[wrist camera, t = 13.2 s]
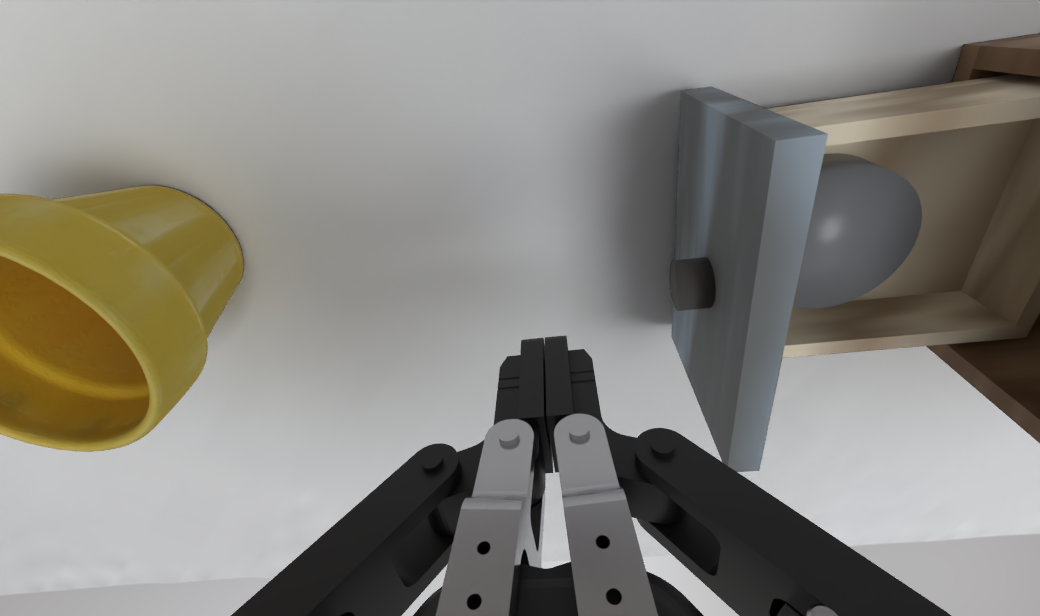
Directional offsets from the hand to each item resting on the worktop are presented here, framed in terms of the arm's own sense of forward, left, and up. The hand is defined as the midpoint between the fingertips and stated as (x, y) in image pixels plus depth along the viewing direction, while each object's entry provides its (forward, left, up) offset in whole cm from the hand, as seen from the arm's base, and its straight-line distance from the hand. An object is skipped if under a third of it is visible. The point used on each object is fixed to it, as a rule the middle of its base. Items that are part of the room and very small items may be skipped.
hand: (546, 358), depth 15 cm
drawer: (-13, 0, -9) cm, 16 cm away
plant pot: (+19, -2, -10) cm, 22 cm away
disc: (-12, 0, -8) cm, 15 cm away
